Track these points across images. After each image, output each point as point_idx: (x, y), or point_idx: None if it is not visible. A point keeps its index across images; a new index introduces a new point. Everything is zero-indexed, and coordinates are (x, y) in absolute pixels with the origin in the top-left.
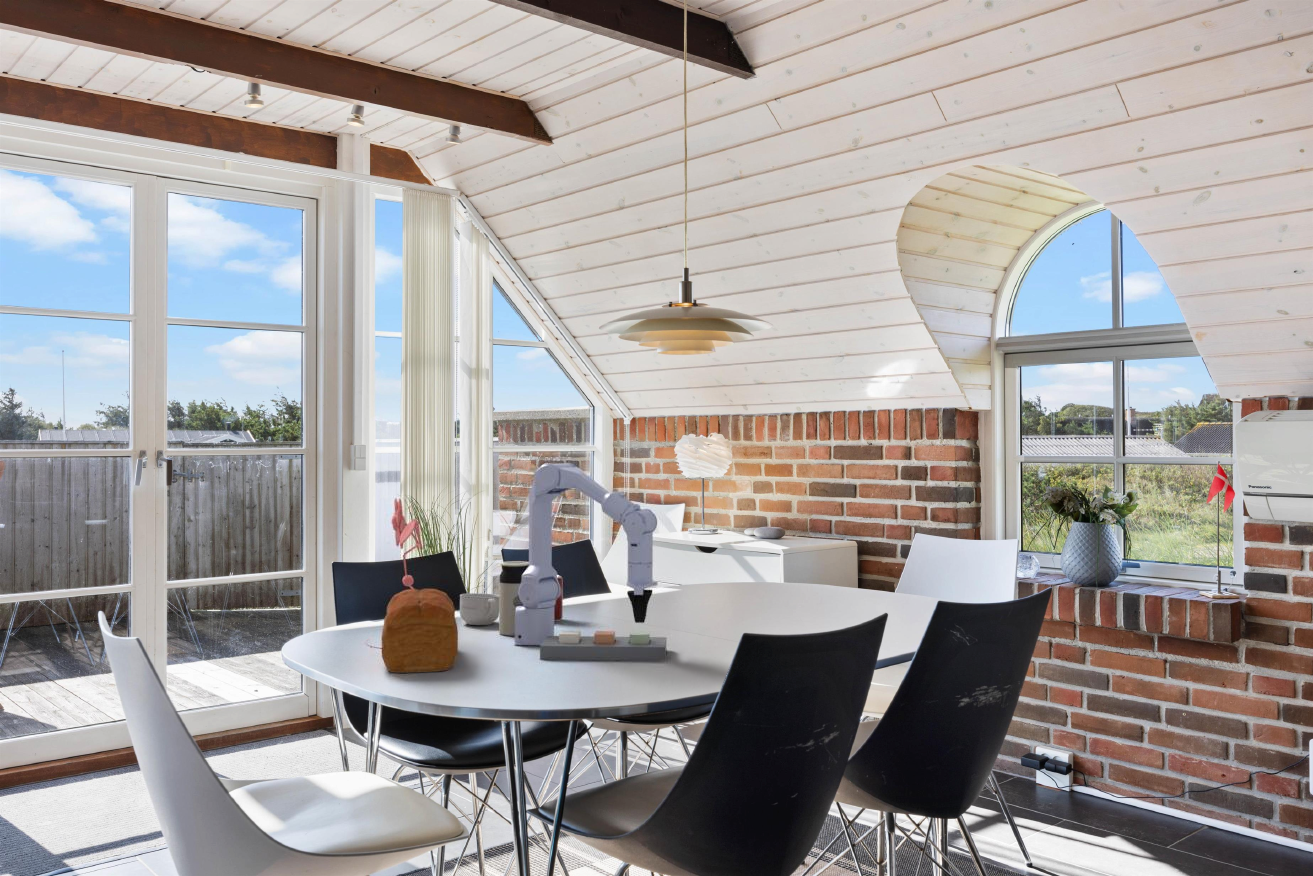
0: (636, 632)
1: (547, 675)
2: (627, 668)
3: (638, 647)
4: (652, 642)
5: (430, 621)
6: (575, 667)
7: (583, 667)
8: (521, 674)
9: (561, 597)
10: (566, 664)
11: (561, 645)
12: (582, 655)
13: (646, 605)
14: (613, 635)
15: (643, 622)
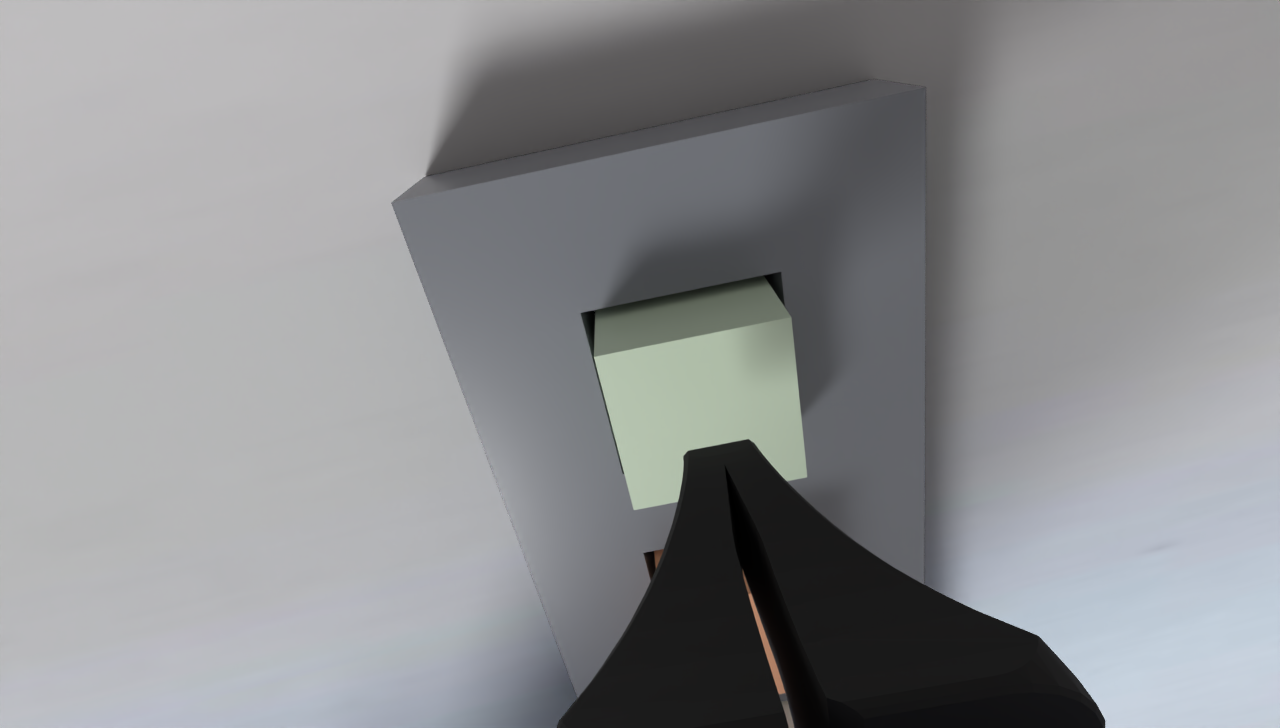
0: (683, 453)
1: (1267, 619)
2: (1142, 297)
3: (921, 332)
4: (700, 270)
5: None
6: (1087, 566)
7: (1090, 533)
8: (1223, 706)
9: None
10: (1008, 621)
11: None
12: None
13: (879, 561)
14: None
15: (753, 445)
